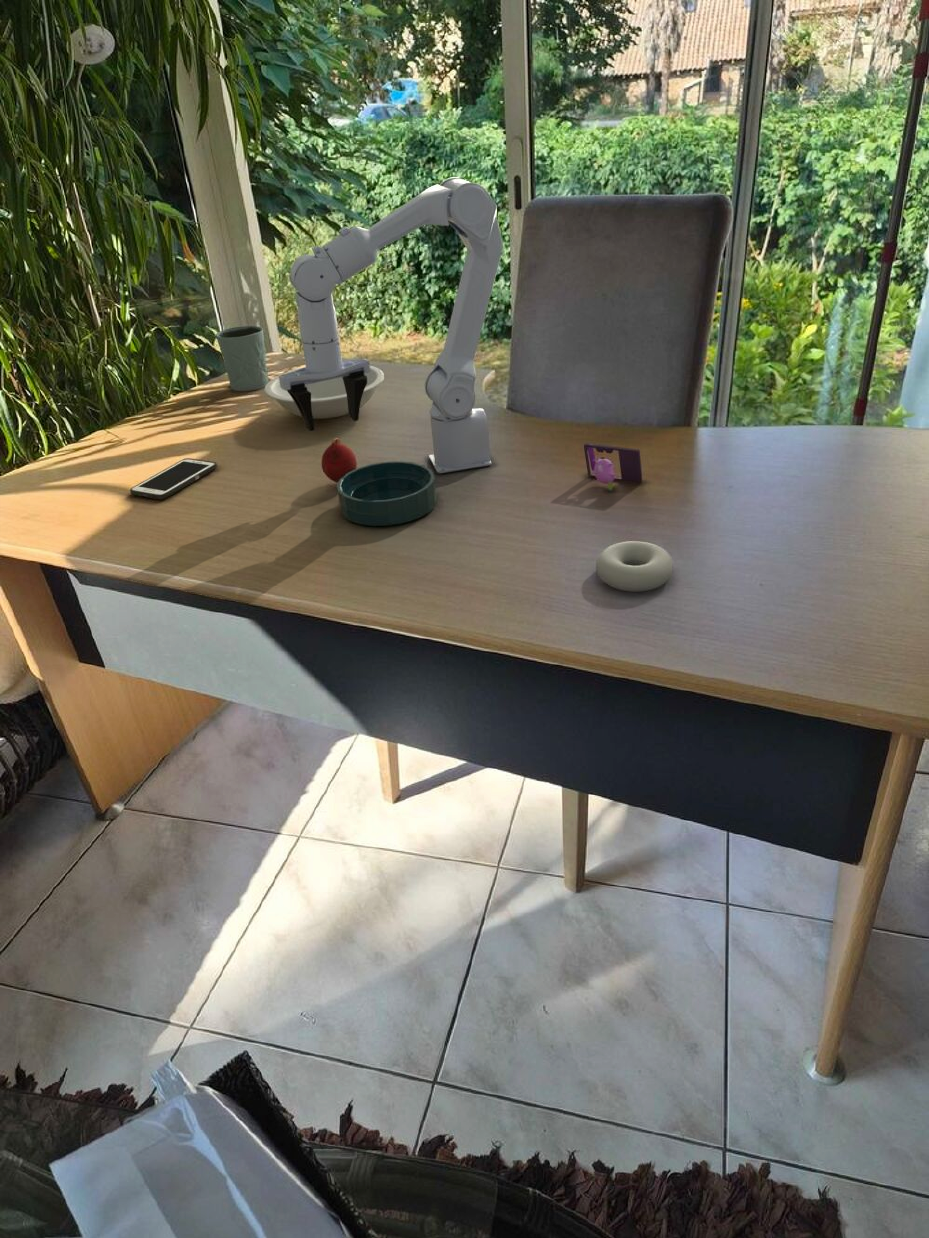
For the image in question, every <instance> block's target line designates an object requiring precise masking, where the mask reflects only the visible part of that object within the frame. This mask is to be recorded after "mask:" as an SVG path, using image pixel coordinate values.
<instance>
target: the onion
mask: <svg viewBox="0 0 929 1238" xmlns="http://www.w3.org/2000/svg"><path fill="white" fill-rule="evenodd" d="M357 465H358V462H357V458H356V454H355V453H354V451H353V450H352V449H351V448H350V447H349V446H347V445H346V444H344V443H341V439H339V438H338V437H335V438H333V440H332V442H331V444H330V445H329V446H328V447H326V449H325V450H324V452H323V453H322V456H321V469H322V472H323V473H324V475H325V476H326V477H327V478H328V479H329V480H330V481H332V482H335V483H337V484H338V482H339V480H340V479H341V478H342V477H343V476H344V475H345V474H347V473H349V472H351V471H353V470H355V469H357V468H358V466H357Z"/></svg>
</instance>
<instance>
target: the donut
mask: <svg viewBox="0 0 929 1238" xmlns="http://www.w3.org/2000/svg"><path fill="white" fill-rule="evenodd" d="M595 568H596V569H595V570H596V573H597V575H598V577H599V578H600V579H601V581H602V582H603V583H604V584H606V585H607V586H609V587H611V588H613V589H617V590H620V591H623V592H630V593H631V592H633V593H634V592H637V593H638V592H646V591H647V592H648V591H652V590H654V589H657V588H659V587H661V586H663V585H664V584H665V583H667V582H668V581H669V580H670V579H671V577H672V574H673V572H674V562H673V558H672V556H671V555H670V553H668V552H667V551H666V550H665V549H664V548H663V547H661V546H659V545H657V544H654V543H650V542H647V541H640V540H632V541H631V540H629V541H622V542H617V543H614V544H611V545H609V546H608V547H606V548H605V549H604V550H602V551H601V552H600V553H599V555H598V557H597V559H596V561H595Z"/></svg>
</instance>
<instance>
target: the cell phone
mask: <svg viewBox="0 0 929 1238" xmlns="http://www.w3.org/2000/svg"><path fill="white" fill-rule="evenodd" d="M217 468H218V465H217V462H215V461H210V460H203V459H197V458H192V457H191V458H189V457H187V458H186V457H185V458H183V459H180V460H179V461H177V462H174V463H173V464H172V465H170V466H168V467H166V468H164V469H163V470H161V471H159V472H157V473H156V474H154V475H152V476H150V477H148V478H147V479H145V480H143V481H141V482H139V483H138V484H136V485H134V486H132V487H131V488H130V489H129V491H130V494H131V495H132V496H137V497H141V498H142V497H145V498H149V499H155V500H165V499H166V498H168V497H170V496H173V494H175V493H177V492H179V491H181V490H182V489H183V488H186V487H187V486H189V485H190V484H192V483H194V482H196V481H197V480H199V479H201V478H202V477H204V476H205V475H208V474H209V473H210V472H212V471H214V470H215V469H217Z"/></svg>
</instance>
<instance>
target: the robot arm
mask: <svg viewBox="0 0 929 1238" xmlns="http://www.w3.org/2000/svg"><path fill="white" fill-rule="evenodd" d="M493 199H494V198H492V196H491V195H490V193H489V192H488V190H487V189H486V188H485V187H484V186H483V185H481V184H480V183H477V182H471V181H467V180H466V179H464V178H461V177H457V176H452V177H448V178H446V179H444V180H443V181H442V182H441V183H440V184H435V185H432V186H430V187H428V188H426V189H425V190H423V191H422V192H421V193H419V194H417V195H415V196H414V197H413V198H411V199H410V200H409V201H407V202H405V203H403V204H402V205H401V206H400V207H398V208H397V209H395V210H393V211H392V212H391V213H389V214H388V215H386V216H385V217H384V218H382V219H380V220H379V221H377V222H376V223H375V224H373V225H372V226H370V227H369V228H363V227H361V226H356V225H355V226H353V227H351V228H349V227H348V226H346V225H345V226H344V227H342V228H340V229H339V230H338V231H339V235H338V236H336V237H334V238H333V239H331V240H330V241H328V242H327V243H325V244H323V245H322V246H319V245H315V246H313V247H312V248H311V250H312V252H313V253H312V254H311V253H309V254H308V253H306V254H301V255H299V256H298V257H296V259H295V260H294V261H293V263H292V265H290V266H291V267H290V271H289V272H290V273H289V275H288V278H289V282H290V283H291V285H292V287H293V288H294V289H295V290H296V292H295V303H296V306H297V313H296V314H297V319H298V325H299V331H300V339H301V343H302V352H303V357H304V363H305V366H304V367H305V368H304V367H301V368H302V369H299V368H298V369H299V370H296V369H295V370H296V371H293V372H290V373H287V374H284V373H282V374H283V375H281V374H279V375H278V376H279V380H280V386H281V388H282V389H284V390H287V391H288V393H289V394H290V396H291V397H292V399H293V400H294V402H295V403H296V405H297V407H298V409H299V411H300V413H301V415H302V417H301V418H302V419H303V422H304V425H305V428H306V429H307V430H308V432H314V431H315V430H316V429H315V422H314V418H313V416H312V408H311V393H310V392H309V391H307V387H305V385H307V384H311V383H316V382H321V381H325V380H330V379H335V378H339V377H342V378H343V382H344V385H345V390H346V394H347V402H348V411H349V414H348V416H349V418H350V419H351V420H352V421H354V422H357V421H359V418H360V417H359V416H360V409H361V407H360V403H361V398H362V395H363V392H364V389H365V387H366V385H367V376H365V375H364V373H369V372H370V366H371V364H370V360H369V359H367V358H365V357H361V358H354V359H345V360H343V358H342V350H341V349H342V348H341V342H340V335H339V328H338V327H339V326H338V320H337V311H336V306H335V305H334V298H333V292H334V290H335V287H336V285H341V284H344V283H345V282H346V281H348V280H350V279H351V278H353V277H354V276H355V275H358V274H359V273H361V272H362V271H364V270H366V269H368V268H369V267H370V266H373V265H374V264H376V260H377V257H378V255H379V252H380V250H382V249H383V248H385V247H387V246H389V245H390V244H392V243H394V242H397V241H398V240H399V239H401V238H403V237H405V236H408V235H409V234H410V233H412V232H414V231H416V230H418V229H420V228H421V227H423V226H427V225H431V226H444V227H449V226H450V227H451V228H453V229H454V230H455V231H456V234H457V235H458V237H459V238H460V240H461V242H462V243H463V245H464V247H465V248H466V255H465V259H464V264H463V267H462V272H461V275H460V279H459V284H458V288H457V292H456V296H455V301H454V305H453V308H452V312H451V315H450V316H451V317H450V321H449V326H448V330H447V332H446V336H445V337H446V338H445V341H444V345H443V350H442V351H441V352H440V354H439V355H438V356H437V357H436V360H435V363H434V366H433V368H432V370H430V372H429V373H428V375H427V376H426V378H425V382H424V391H425V393H426V395H427V397H428V398H429V399H430V401H432V404H431V408H430V410H429V416H430V426H431V427H430V428H431V437H432V448H433V453H432V454H429V455H428V459H429V461H430V462H431V465H433V467H434V469H435V471H436V473H437V474H446V473H452V472H457V471H465V470H469V469H475V468H481V467H488V466H491V465H492V460H491V450H490V449H491V447H490V432H489V424H488V417H487V414H486V412H485V410H484V408H481V407H480V408H479V407H478V408H474V407H475V404H476V393H475V383H476V378H477V377H476V369H475V357H476V353H477V349H478V346H479V341H480V338H481V334H482V330H483V327H484V323H485V319H486V314H487V311H488V307H489V303H490V299H491V295H492V292H493V288H494V283H495V280H496V276H497V272H498V268H499V264H500V261H501V257H502V253H503V248H504V245H503V238H502V234H501V230H500V224H499V221H498V216H497V209H498V205H497V203H496V202H495V200H493Z"/></svg>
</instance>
